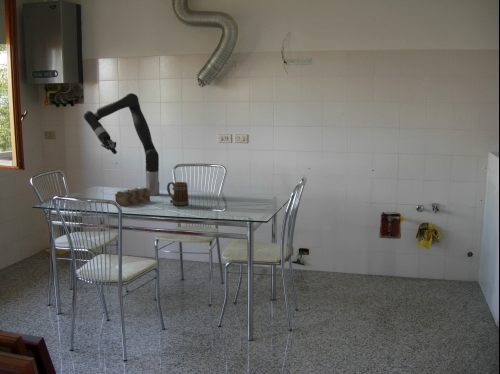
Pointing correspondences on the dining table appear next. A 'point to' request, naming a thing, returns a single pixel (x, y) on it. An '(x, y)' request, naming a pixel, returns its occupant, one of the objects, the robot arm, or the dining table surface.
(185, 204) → the mug
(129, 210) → the dining table surface
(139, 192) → the wooden egg crate
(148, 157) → the robot arm
